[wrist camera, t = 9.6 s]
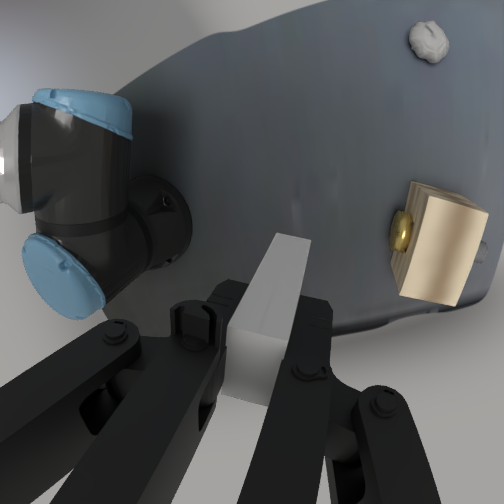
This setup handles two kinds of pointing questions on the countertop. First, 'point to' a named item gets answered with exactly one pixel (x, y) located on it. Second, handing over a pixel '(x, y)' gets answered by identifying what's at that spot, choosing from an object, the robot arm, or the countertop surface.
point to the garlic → (429, 41)
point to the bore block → (438, 244)
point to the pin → (403, 231)
